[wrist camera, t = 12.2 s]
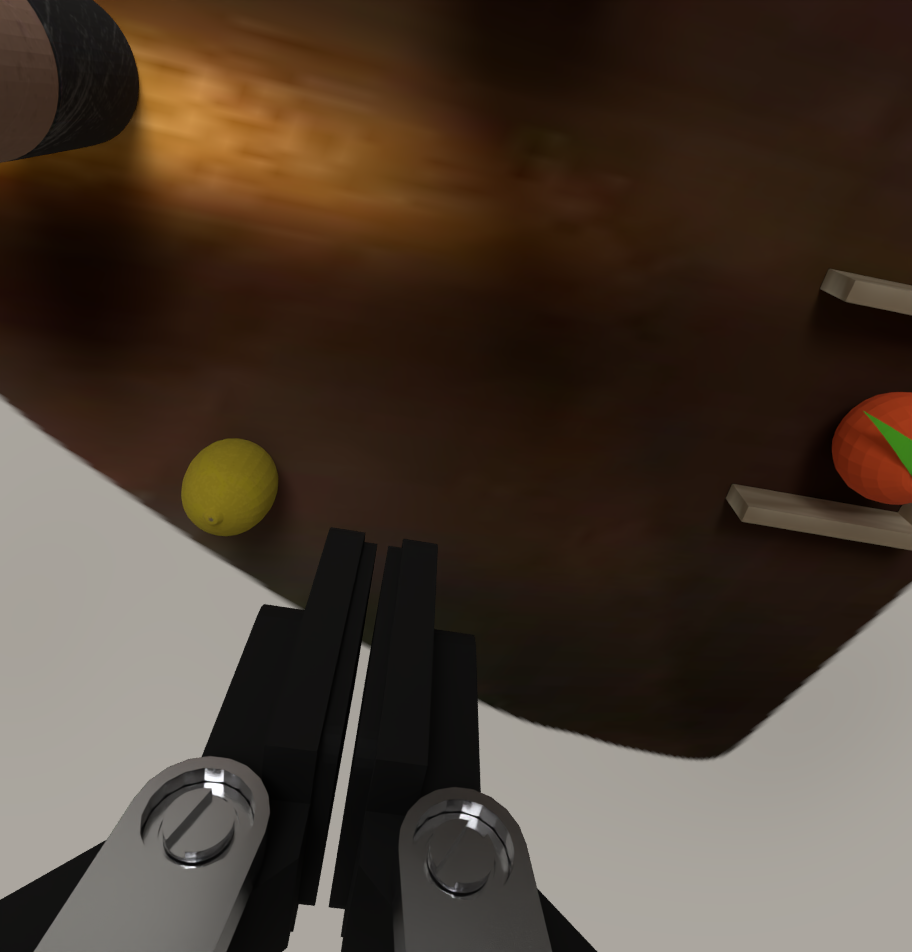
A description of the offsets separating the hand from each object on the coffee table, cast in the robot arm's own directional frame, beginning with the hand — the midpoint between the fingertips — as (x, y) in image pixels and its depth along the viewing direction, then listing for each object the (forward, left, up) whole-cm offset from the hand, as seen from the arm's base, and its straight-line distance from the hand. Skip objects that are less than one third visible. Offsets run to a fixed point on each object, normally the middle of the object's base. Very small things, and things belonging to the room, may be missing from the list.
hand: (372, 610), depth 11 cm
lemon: (+16, -10, -32) cm, 37 cm away
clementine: (+6, +30, -32) cm, 44 cm away
